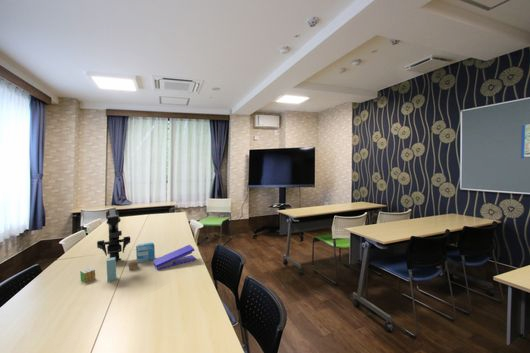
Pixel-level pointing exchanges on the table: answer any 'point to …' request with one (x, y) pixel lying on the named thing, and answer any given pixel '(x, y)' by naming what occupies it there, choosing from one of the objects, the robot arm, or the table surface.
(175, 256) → the stapler
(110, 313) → the table surface
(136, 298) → the table surface
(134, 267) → the walnut cube
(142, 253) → the data package
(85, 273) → the puzzle toy
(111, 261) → the teal block
